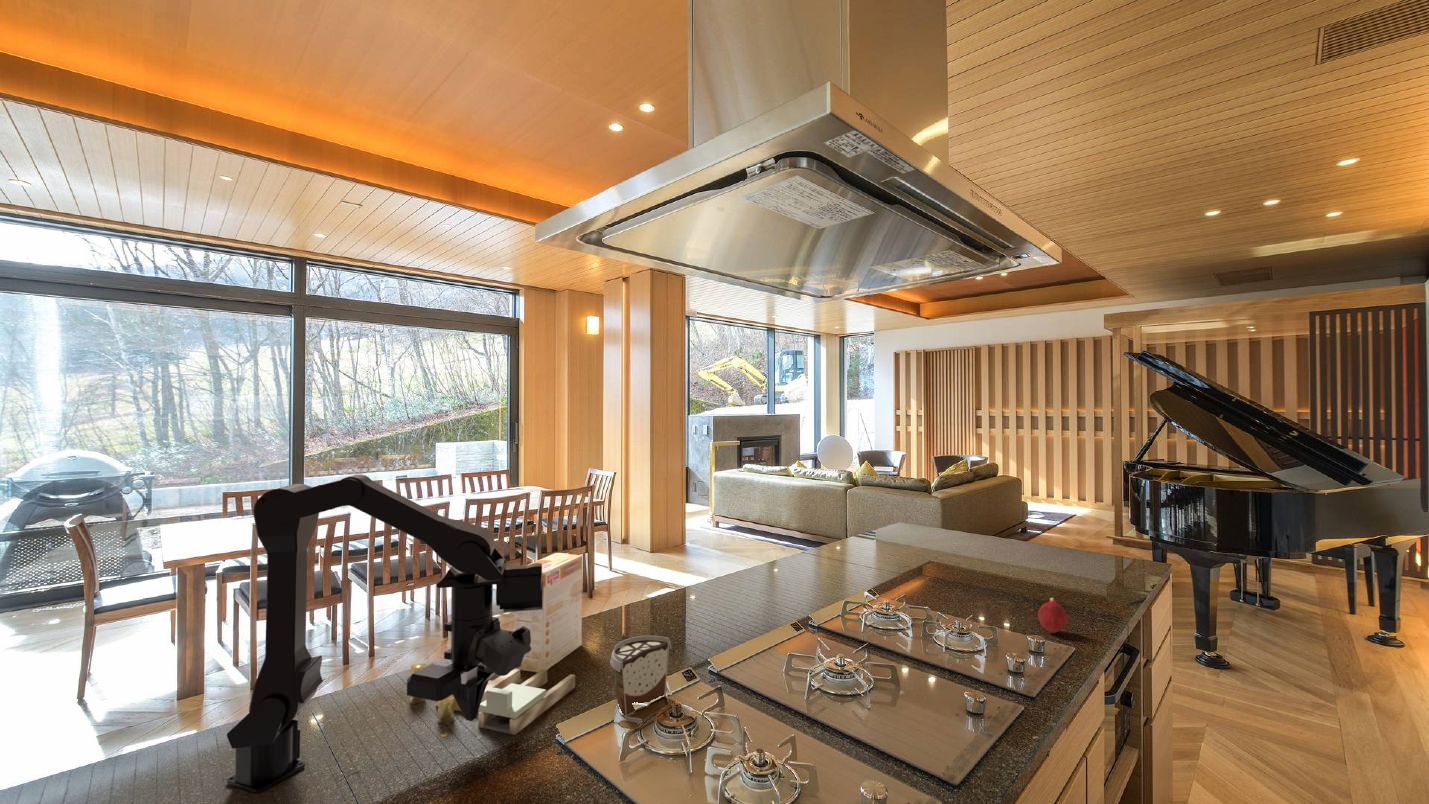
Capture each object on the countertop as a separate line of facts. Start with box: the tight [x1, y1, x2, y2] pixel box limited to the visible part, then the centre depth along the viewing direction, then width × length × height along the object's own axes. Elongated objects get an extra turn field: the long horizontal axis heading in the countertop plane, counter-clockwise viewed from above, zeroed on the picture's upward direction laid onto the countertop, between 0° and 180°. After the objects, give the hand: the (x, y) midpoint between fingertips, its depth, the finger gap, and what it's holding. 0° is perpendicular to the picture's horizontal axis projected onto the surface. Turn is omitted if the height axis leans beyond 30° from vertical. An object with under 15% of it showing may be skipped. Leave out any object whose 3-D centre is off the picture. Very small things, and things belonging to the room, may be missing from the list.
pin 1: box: [409, 662, 427, 705], centre depth 103 cm, size 2×2×6 cm
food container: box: [609, 635, 672, 716], centre depth 103 cm, size 12×6×10 cm, turn 141°
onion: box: [1037, 597, 1068, 634], centre depth 136 cm, size 6×6×8 cm
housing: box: [477, 670, 576, 736], centre depth 101 cm, size 17×7×2 cm, turn 161°
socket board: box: [435, 669, 521, 712], centre depth 105 cm, size 12×8×2 cm, turn 161°
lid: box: [478, 683, 547, 719], centre depth 97 cm, size 8×7×4 cm
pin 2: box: [437, 695, 455, 725], centre depth 96 cm, size 2×2×6 cm
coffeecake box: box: [513, 552, 583, 674], centre depth 122 cm, size 15×7×20 cm, turn 162°
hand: (470, 719), depth 88 cm, fingers closed
